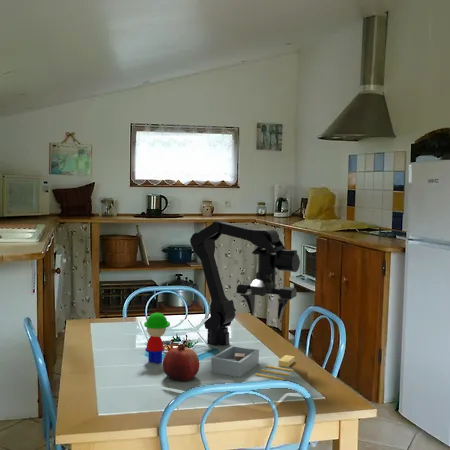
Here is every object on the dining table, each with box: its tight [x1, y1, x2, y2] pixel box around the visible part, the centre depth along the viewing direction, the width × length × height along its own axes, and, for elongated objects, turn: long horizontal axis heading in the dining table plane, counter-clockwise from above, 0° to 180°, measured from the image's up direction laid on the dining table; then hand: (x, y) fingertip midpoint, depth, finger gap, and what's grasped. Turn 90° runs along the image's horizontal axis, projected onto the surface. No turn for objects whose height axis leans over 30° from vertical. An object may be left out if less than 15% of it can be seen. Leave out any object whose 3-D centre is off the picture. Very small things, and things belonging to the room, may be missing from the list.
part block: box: [235, 353, 245, 361], centre depth 173 cm, size 3×3×3 cm
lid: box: [254, 354, 296, 381], centre depth 169 cm, size 20×10×2 cm, turn 154°
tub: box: [210, 345, 260, 378], centre depth 171 cm, size 14×9×5 cm, turn 154°
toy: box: [143, 312, 171, 364], centre depth 177 cm, size 8×8×15 cm
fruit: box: [162, 343, 200, 382], centre depth 161 cm, size 11×10×10 cm
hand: (265, 316), depth 185 cm, fingers open, 9 cm apart
